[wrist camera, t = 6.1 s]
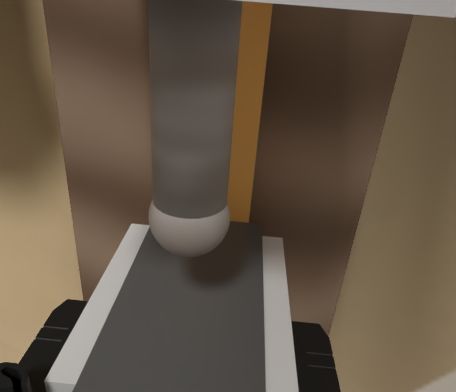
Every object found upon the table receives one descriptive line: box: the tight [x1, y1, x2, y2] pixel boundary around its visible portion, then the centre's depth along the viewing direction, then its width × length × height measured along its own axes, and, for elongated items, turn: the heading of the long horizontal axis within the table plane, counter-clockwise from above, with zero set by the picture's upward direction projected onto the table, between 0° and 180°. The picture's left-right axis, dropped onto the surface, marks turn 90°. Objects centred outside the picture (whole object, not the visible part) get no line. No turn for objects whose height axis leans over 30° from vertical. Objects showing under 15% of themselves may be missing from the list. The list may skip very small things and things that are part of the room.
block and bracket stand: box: [72, 0, 456, 392], centre depth 10 cm, size 13×6×10 cm, turn 176°
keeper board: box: [43, 0, 413, 335], centre depth 12 cm, size 26×12×12 cm, turn 176°
